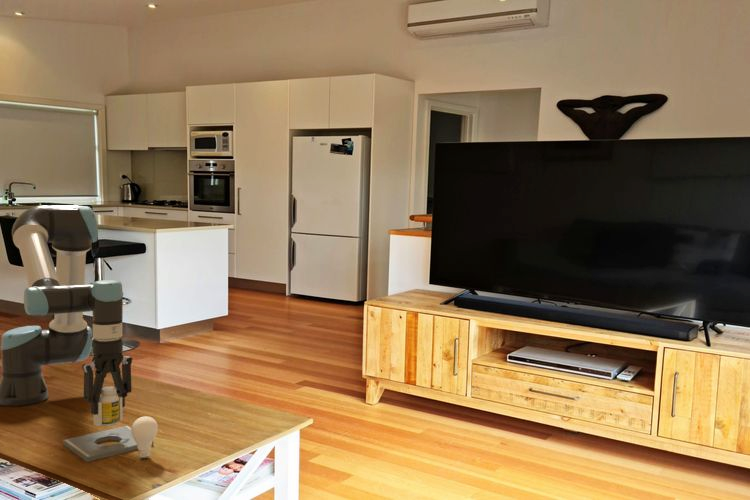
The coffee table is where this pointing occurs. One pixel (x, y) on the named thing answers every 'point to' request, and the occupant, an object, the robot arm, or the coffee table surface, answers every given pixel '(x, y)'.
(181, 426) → the coffee table surface
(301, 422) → the coffee table surface
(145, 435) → the light bulb
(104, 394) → the supplement bottle
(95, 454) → the socket board
